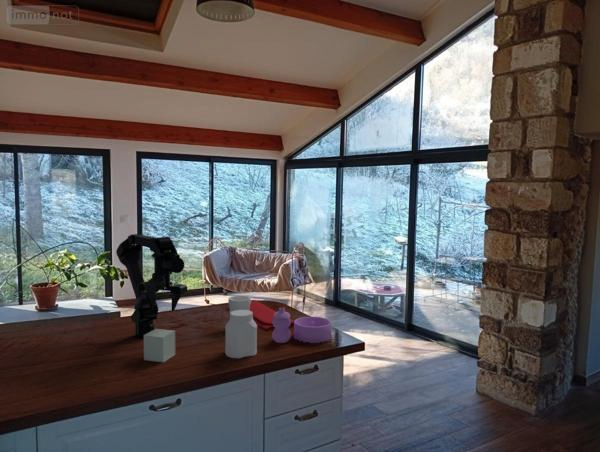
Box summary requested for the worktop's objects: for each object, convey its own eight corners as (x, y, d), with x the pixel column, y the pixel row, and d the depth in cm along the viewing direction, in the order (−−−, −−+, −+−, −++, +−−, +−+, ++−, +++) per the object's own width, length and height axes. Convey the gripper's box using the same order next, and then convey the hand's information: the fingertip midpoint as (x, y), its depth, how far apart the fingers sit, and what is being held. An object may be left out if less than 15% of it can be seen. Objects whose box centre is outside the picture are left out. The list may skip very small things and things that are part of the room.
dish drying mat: (266, 332, 192) (266, 324, 192) (227, 309, 227) (227, 302, 226) (297, 327, 200) (297, 318, 200) (256, 306, 235) (256, 298, 235)
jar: (231, 359, 159) (231, 318, 158) (221, 351, 168) (221, 311, 166) (261, 354, 165) (261, 313, 164) (250, 346, 173) (250, 307, 172)
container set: (320, 329, 196) (321, 299, 195) (337, 340, 182) (338, 308, 181) (266, 336, 186) (266, 304, 185) (279, 348, 172) (280, 314, 171)
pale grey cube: (143, 359, 158) (143, 335, 158) (156, 352, 166) (156, 328, 165) (163, 362, 156) (163, 337, 156) (175, 354, 164) (175, 330, 163)
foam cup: (246, 332, 190) (246, 301, 189) (225, 330, 192) (225, 300, 191) (253, 325, 200) (253, 296, 199) (233, 323, 202) (233, 295, 200)
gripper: (127, 271, 169) (128, 312, 170) (171, 275, 163) (172, 317, 165) (146, 266, 179) (146, 305, 181) (188, 270, 174) (188, 309, 175)
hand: (162, 309), depth 175 cm, fingers open, 9 cm apart
